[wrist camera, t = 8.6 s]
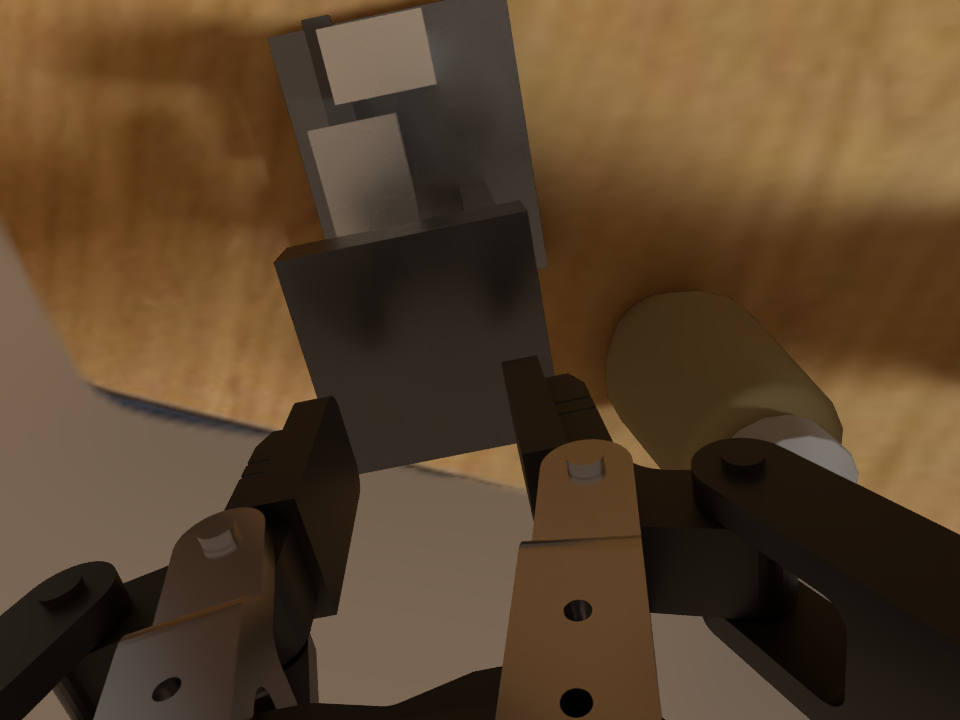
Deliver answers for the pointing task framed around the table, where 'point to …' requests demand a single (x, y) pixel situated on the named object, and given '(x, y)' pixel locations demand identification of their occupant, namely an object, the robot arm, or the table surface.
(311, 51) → the peak pointer
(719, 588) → the robot arm
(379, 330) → the dark grey blocky piece
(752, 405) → the squeeze bottle
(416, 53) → the frame
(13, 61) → the table surface
